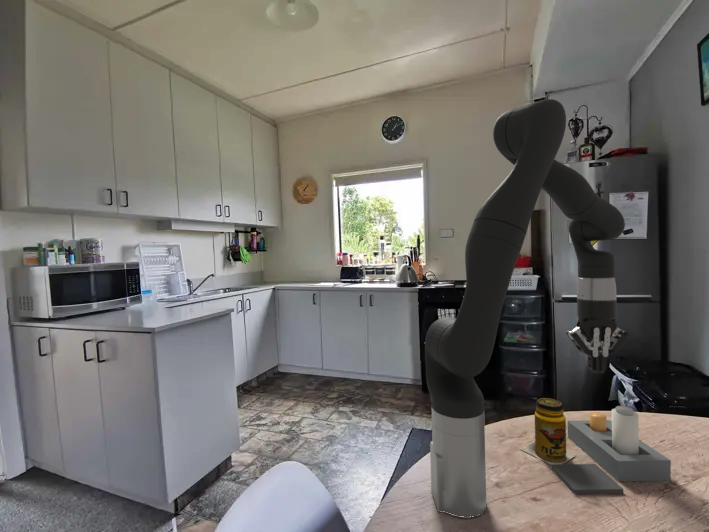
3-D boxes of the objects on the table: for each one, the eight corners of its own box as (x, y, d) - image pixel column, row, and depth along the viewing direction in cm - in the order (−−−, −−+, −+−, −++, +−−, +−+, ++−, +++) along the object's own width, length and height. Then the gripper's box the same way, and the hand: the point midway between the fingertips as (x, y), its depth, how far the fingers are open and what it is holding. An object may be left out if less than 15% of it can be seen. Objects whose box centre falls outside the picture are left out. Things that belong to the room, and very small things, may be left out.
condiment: (557, 468, 74) (555, 411, 74) (519, 449, 81) (518, 397, 81) (575, 457, 78) (574, 402, 77) (538, 440, 85) (537, 390, 85)
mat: (574, 493, 66) (573, 489, 66) (551, 468, 74) (551, 464, 74) (623, 493, 66) (623, 489, 66) (595, 467, 74) (595, 463, 74)
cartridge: (622, 472, 72) (621, 413, 71) (607, 460, 76) (606, 404, 76) (644, 472, 72) (643, 413, 71) (628, 459, 76) (627, 404, 76)
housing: (618, 481, 69) (617, 461, 69) (567, 437, 86) (567, 420, 86) (670, 480, 69) (670, 460, 69) (609, 436, 86) (609, 420, 86)
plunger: (595, 440, 81) (595, 418, 81) (586, 433, 84) (586, 412, 84) (610, 440, 81) (609, 418, 81) (600, 433, 84) (600, 412, 84)
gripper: (576, 299, 78) (577, 378, 78) (638, 298, 78) (639, 376, 78) (557, 296, 86) (558, 367, 86) (614, 294, 85) (615, 366, 86)
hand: (597, 371), depth 82 cm, fingers closed
